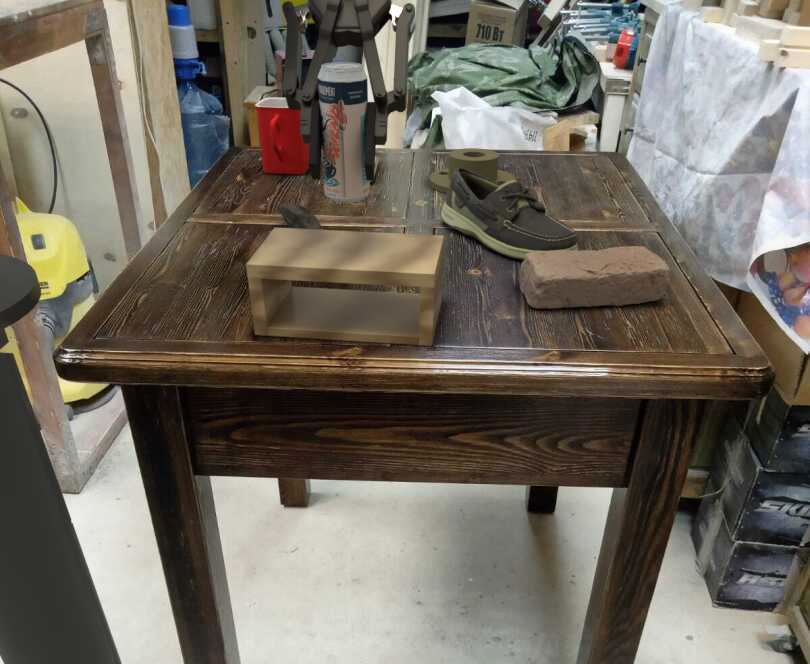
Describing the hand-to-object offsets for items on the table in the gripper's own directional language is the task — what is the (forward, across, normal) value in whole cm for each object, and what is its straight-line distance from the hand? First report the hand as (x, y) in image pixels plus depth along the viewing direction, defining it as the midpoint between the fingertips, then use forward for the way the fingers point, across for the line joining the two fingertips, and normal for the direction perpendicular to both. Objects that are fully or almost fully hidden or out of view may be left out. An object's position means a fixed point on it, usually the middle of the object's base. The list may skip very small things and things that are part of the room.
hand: (341, 171), depth 75 cm
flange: (-31, -15, -55) cm, 65 cm away
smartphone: (-35, +6, -59) cm, 69 cm away
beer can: (0, 0, -5) cm, 5 cm away
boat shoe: (-10, -19, -34) cm, 40 cm away
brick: (+3, -29, -21) cm, 36 cm away
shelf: (+9, 0, -14) cm, 17 cm away
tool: (-9, +7, -33) cm, 35 cm away
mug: (-35, +19, -59) cm, 71 cm away
